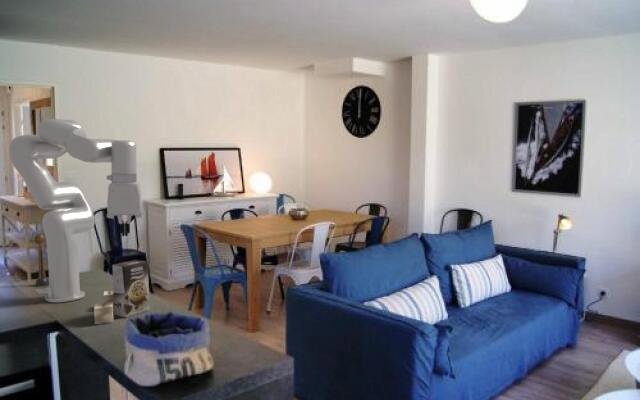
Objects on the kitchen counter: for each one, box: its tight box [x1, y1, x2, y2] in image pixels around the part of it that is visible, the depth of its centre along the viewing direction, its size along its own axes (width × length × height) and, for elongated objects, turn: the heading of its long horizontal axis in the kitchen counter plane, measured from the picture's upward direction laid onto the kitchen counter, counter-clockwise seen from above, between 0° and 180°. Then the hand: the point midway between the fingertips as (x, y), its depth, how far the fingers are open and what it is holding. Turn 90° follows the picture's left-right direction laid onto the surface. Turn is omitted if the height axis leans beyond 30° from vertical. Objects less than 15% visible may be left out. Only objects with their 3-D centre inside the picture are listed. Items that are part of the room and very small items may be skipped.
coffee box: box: [112, 259, 150, 318], centre depth 165 cm, size 9×6×16 cm
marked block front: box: [93, 302, 114, 325], centre depth 157 cm, size 5×5×5 cm
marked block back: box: [103, 290, 114, 310], centre depth 172 cm, size 5×5×5 cm
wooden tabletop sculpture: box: [29, 233, 50, 287], centre depth 202 cm, size 6×5×20 cm
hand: (124, 235), depth 169 cm, fingers closed
